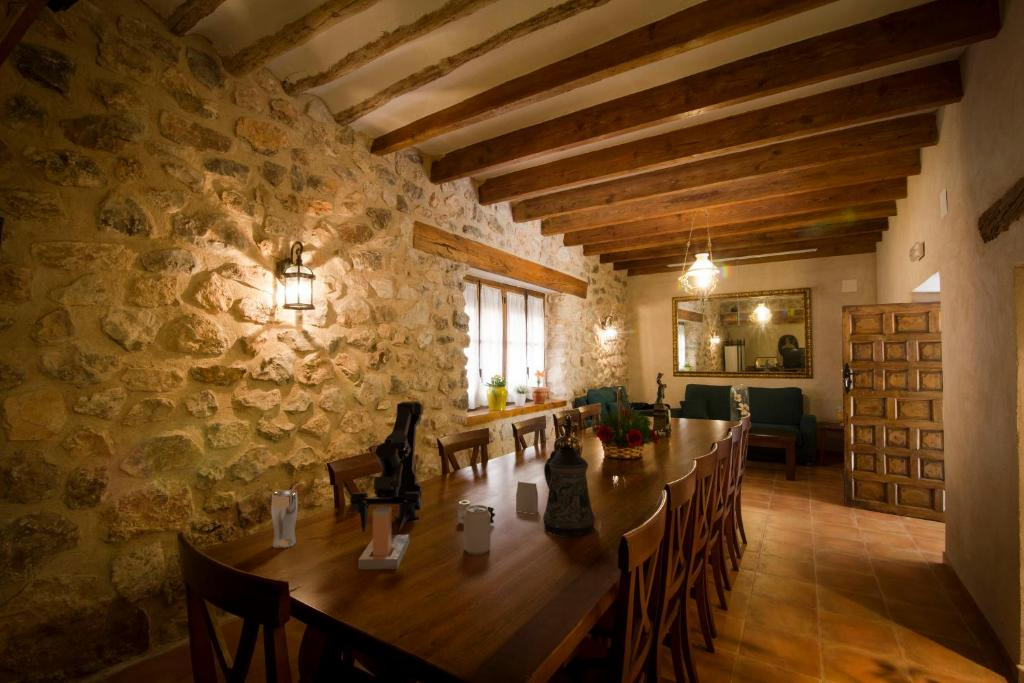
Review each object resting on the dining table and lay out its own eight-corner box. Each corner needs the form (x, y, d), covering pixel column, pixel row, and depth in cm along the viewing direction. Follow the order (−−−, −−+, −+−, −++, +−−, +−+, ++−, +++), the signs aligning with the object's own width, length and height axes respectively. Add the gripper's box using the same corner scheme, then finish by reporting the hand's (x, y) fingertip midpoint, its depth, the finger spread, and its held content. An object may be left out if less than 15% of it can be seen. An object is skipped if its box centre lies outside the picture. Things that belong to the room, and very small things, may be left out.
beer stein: (582, 542, 142) (582, 457, 142) (525, 529, 152) (525, 450, 153) (603, 525, 156) (602, 447, 156) (549, 514, 166) (549, 441, 167)
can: (469, 558, 131) (469, 513, 132) (459, 548, 138) (459, 505, 138) (494, 552, 135) (494, 509, 135) (483, 543, 142) (483, 502, 142)
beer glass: (302, 541, 143) (303, 490, 143) (284, 551, 136) (285, 497, 136) (284, 538, 145) (284, 488, 145) (265, 547, 138) (265, 495, 139)
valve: (453, 524, 157) (484, 531, 151) (453, 504, 157) (484, 510, 151) (464, 518, 163) (495, 524, 157) (464, 498, 163) (495, 504, 157)
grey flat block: (374, 543, 141) (374, 534, 141) (409, 543, 142) (409, 534, 142) (358, 569, 125) (358, 559, 125) (397, 568, 125) (397, 558, 125)
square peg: (376, 558, 131) (376, 506, 132) (391, 558, 132) (391, 506, 132) (372, 564, 127) (372, 511, 128) (388, 564, 127) (388, 511, 128)
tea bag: (534, 514, 166) (534, 485, 166) (516, 511, 169) (516, 483, 169) (537, 511, 170) (537, 482, 170) (520, 508, 172) (520, 480, 172)
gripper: (351, 463, 134) (338, 517, 122) (419, 463, 134) (412, 516, 123) (360, 484, 141) (348, 536, 130) (424, 483, 142) (417, 535, 131)
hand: (380, 531), depth 128 cm, fingers open, 9 cm apart
